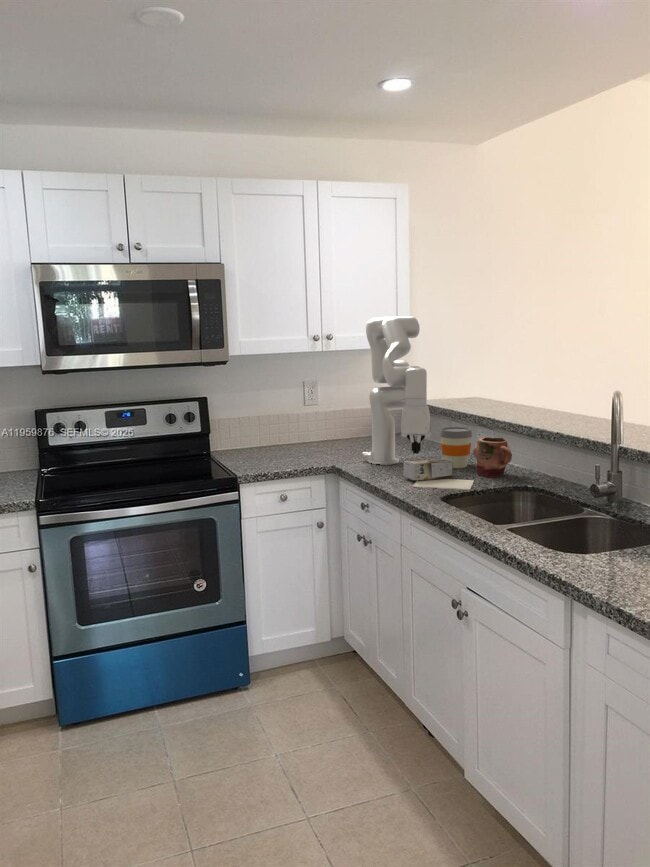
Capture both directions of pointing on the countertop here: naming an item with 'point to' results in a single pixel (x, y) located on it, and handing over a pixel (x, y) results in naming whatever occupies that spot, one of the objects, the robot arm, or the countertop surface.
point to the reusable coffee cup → (456, 445)
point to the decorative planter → (491, 456)
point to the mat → (445, 484)
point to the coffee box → (428, 469)
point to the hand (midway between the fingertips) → (416, 452)
